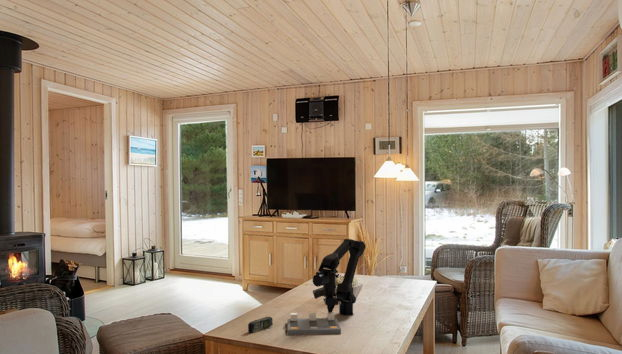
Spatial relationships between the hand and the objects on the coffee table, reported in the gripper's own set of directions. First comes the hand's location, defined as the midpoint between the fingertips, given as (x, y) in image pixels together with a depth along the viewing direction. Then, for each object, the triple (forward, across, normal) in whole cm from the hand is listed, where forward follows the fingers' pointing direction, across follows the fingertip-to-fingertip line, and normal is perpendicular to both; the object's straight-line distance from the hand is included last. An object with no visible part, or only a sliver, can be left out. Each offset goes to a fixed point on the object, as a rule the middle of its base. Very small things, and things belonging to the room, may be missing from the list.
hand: (329, 314), depth 212 cm
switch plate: (+3, +10, -9) cm, 14 cm away
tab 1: (+1, +5, -18) cm, 19 cm away
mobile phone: (+4, +10, -33) cm, 35 cm away
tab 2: (+1, +5, 0) cm, 5 cm away
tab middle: (+1, +5, -9) cm, 11 cm away
